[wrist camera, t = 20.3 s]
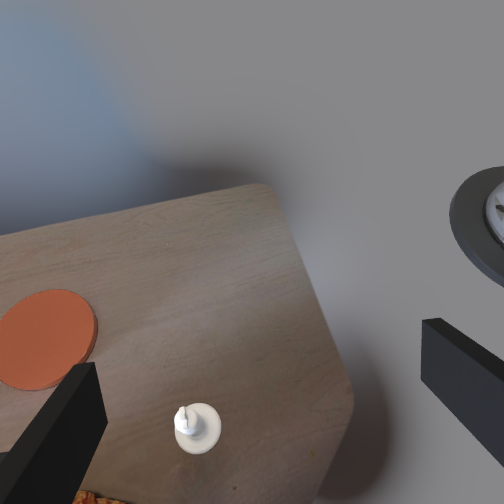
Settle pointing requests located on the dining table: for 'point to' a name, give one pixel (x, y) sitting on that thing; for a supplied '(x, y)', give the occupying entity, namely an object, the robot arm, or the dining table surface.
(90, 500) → the croissant
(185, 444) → the chess piece
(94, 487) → the dining table surface
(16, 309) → the orange flat disc
